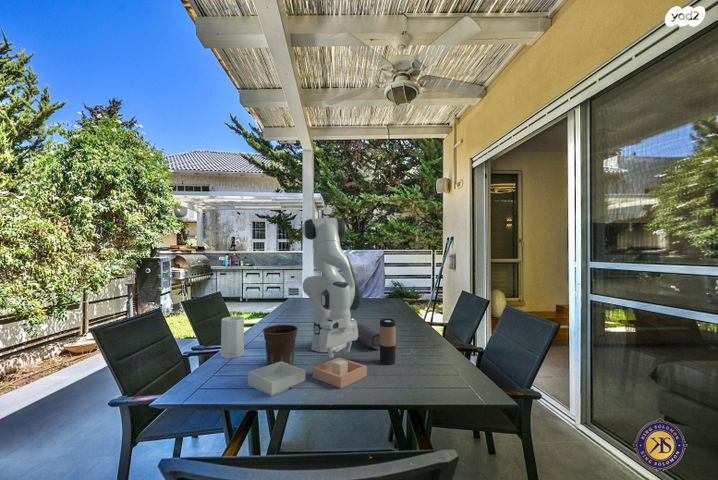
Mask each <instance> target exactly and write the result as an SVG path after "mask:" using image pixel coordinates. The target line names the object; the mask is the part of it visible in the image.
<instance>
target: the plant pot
mask: <svg viewBox="0 0 718 480" xmlns="http://www.w3.org/2000/svg"><path fill="white" fill-rule="evenodd" d="M298 330H299V327H298V326H296V325H293V324H275V325H270V326H267V327H264V328H263V329H262V333H263V336H264V337H263V338H264V340H265V341H264V343H265V352H266V353H265V355H266V363H267V366H268V365H271V364H274V363H277V362H280V361H282V362H284V363H287V364H290V365H293V363H294V360H295V359H294V357H295V349H296V347H295V346H296V338H297V334H298Z"/></svg>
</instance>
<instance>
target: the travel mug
mask: <svg viewBox="0 0 718 480" xmlns="http://www.w3.org/2000/svg"><path fill="white" fill-rule="evenodd" d="M396 325H397V323H396V320H395V319H393V318H381V319H379V333H380V348H379V362H380V364H382V365H386V366H390V365H394V364H395V363H396V341H397V340H396V339H397V338H396V337H397V336H396V335H397V334H396V330H397V328H396V327H397V326H396Z"/></svg>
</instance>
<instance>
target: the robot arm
mask: <svg viewBox="0 0 718 480" xmlns="http://www.w3.org/2000/svg"><path fill="white" fill-rule="evenodd" d="M346 231H347V225H346V222H345V220H344V219H343V218H339V217H320V218H319V217H318V218H310V219H306V220H304V222H303V225H302V233H303V235H304V237H305V238H306V239H307V240H311V241H312V240H313V245H312V247H313V248H312V249H313V251H312V252H313V253H312V254H313V264H314V267H315V268H316V269H317V270H319V271H320V272H321V274H322V275H312V276H307V277H306V278H304V280H303V282H302V291H303V292H304V294H305V295H306V296H308V297H309V299H310V301H311V303H312V306H313V313H314V315H313V317H314V321H313V336H312V343H311V348H310V349H311V350H312V351H314V352H319V353H328V358H330V359H333V358H335V353H337V352H339V351H341V350H343V349H344V353H346V354H348V353H350V352H351V351H350V350H351V347H352V344H353V342H354V341H357V340H358V339H357V338H358V328H357V324H358V322H357V320H356V319H355V318H352V317H351V314H352V313H351V311H355V310H358V308H360V307H361V305H362V304H363V296H362V295H363V294H362V292H361V290H360V288H359V285H358V282H357V279H356V275H355V272H354V269H353V266H352V263H351V259H350V258H349V256H348V255H347V254H346V253H345V252H344V251H343V249H342V247H341V242H340V239H341V238H343V237H344V236H345V235H346ZM338 270H340V271H341V272H342V274H343V276H342V275H341V274H340V272H339V271H338Z"/></svg>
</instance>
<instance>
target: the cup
mask: <svg viewBox="0 0 718 480" xmlns="http://www.w3.org/2000/svg"><path fill="white" fill-rule="evenodd" d="M220 325H221V326H220V327H221V329H220V331H221V332H220V334H221V335H220V357H221V358H222V359H225V360H226V359H227V360H232V359H237V358H239V357H243V356H244V352H245V351H244V350H245V348H244V347H245V345H244V343H245V340H244V339H245V317H244V316H227V317H226V316H225V317H223V318H221V324H220Z"/></svg>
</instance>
